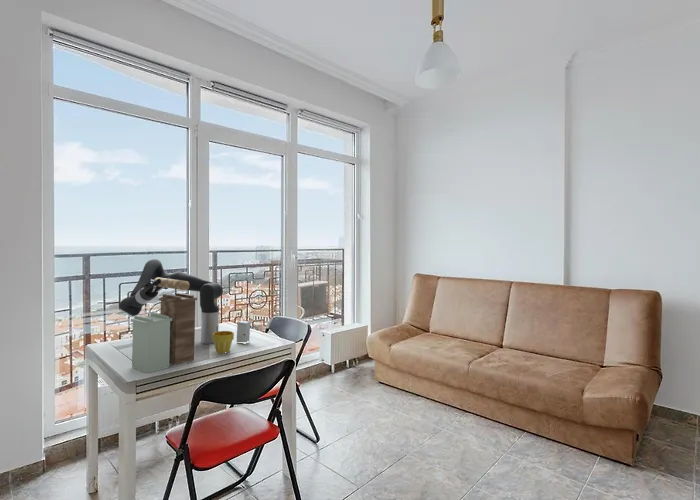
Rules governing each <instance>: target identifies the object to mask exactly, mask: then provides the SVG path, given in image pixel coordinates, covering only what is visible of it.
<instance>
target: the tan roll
mask: <svg viewBox="0 0 700 500" xmlns="http://www.w3.org/2000/svg"><path fill="white" fill-rule="evenodd" d="M157 279H160V280H161V283H160V284H158V285H157V286H159V287H165V288H168V289H173V290H179V291H189V290H188V289H189V287H190V284H189V282H188V281H182V280H174V279H167V278H159V277H157V278H155V279H154V280H153V281H156V280H157ZM165 288H164V289H165Z"/></svg>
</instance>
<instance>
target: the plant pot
mask: <svg viewBox="0 0 700 500" xmlns="http://www.w3.org/2000/svg"><path fill="white" fill-rule="evenodd" d="M234 336H235V333H234V331H231V330H218V332H215V333H213V341H214V343H213V344H214V349H215V351H216V352H217V354H219V353H224V354H226V353H225V352H228V351H229V352H230V351H231V348H232V344H233V340H234V338H235V337H234ZM229 352H228V353H229Z"/></svg>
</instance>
